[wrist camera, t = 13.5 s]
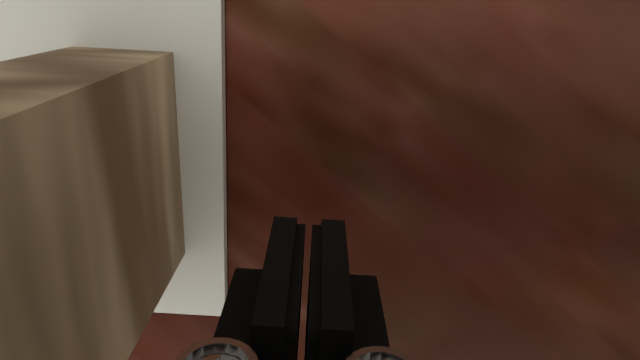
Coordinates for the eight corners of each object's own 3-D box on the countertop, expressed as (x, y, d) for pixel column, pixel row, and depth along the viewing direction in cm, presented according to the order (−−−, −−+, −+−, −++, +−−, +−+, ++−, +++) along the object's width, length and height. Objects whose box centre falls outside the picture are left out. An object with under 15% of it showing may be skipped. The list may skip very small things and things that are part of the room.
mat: (224, -37, 16) (220, -38, 15) (227, 307, 21) (225, 316, 20) (-259, -71, 16) (-281, -73, 15) (-136, 286, 21) (-149, 294, 20)
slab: (173, 51, 16) (-192, 191, 5) (185, 253, 19) (-23, 641, 8) (71, 45, 16) (-543, 175, 5) (99, 248, 19) (-240, 632, 8)
